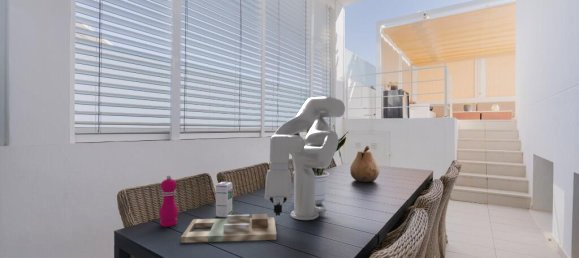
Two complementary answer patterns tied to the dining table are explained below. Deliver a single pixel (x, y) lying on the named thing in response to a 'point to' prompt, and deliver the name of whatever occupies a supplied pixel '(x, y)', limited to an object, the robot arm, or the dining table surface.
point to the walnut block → (259, 221)
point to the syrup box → (224, 199)
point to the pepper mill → (168, 203)
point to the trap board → (228, 230)
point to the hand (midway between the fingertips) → (277, 214)
